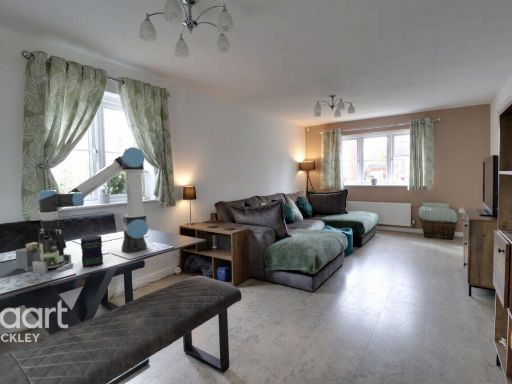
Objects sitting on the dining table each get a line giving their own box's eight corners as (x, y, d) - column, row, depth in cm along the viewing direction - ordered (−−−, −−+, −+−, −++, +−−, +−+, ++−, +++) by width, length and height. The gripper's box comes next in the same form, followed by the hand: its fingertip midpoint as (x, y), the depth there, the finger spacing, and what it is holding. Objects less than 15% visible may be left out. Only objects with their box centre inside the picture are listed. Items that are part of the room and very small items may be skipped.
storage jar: (100, 266, 145) (98, 239, 144) (79, 268, 142) (77, 240, 141) (105, 260, 155) (103, 235, 153) (85, 262, 152) (83, 236, 151)
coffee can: (69, 262, 148) (67, 237, 147) (51, 269, 138) (49, 241, 137) (53, 261, 150) (52, 236, 149) (35, 267, 140) (33, 241, 139)
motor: (52, 274, 135) (50, 249, 134) (11, 269, 143) (9, 246, 142) (78, 264, 149) (77, 242, 148) (40, 260, 157) (38, 239, 156)
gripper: (72, 218, 143) (75, 260, 145) (41, 217, 149) (44, 257, 151) (59, 221, 136) (62, 264, 138) (26, 220, 142) (29, 261, 144)
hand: (52, 260), depth 144 cm, fingers closed on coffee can, 10 cm apart
